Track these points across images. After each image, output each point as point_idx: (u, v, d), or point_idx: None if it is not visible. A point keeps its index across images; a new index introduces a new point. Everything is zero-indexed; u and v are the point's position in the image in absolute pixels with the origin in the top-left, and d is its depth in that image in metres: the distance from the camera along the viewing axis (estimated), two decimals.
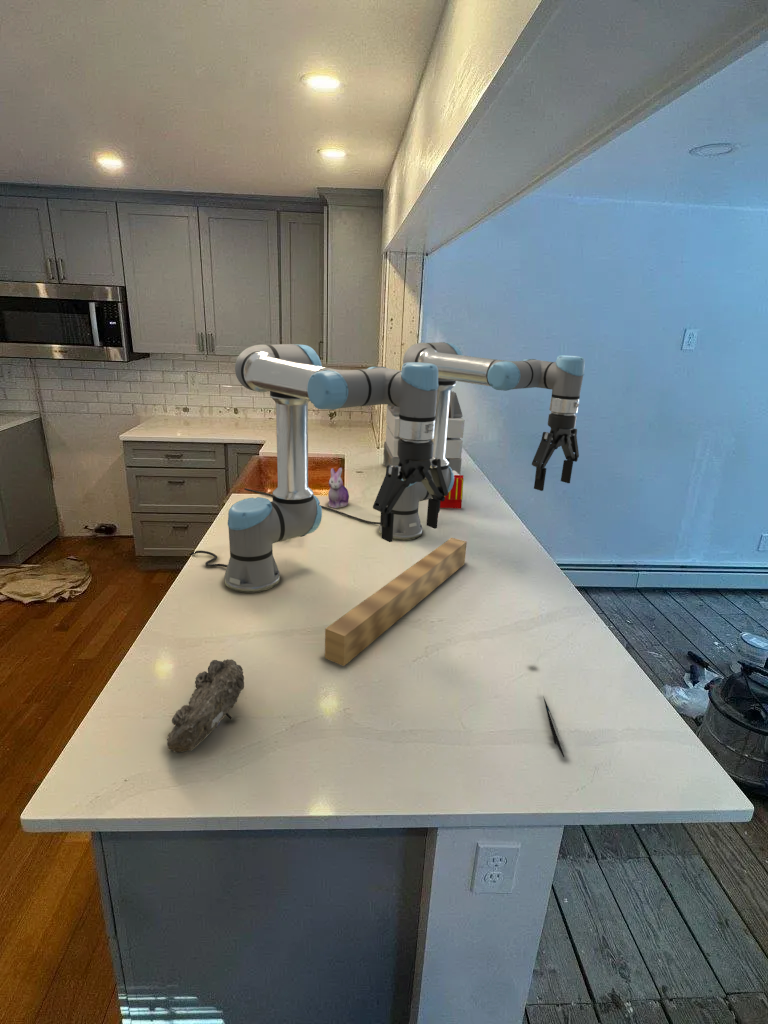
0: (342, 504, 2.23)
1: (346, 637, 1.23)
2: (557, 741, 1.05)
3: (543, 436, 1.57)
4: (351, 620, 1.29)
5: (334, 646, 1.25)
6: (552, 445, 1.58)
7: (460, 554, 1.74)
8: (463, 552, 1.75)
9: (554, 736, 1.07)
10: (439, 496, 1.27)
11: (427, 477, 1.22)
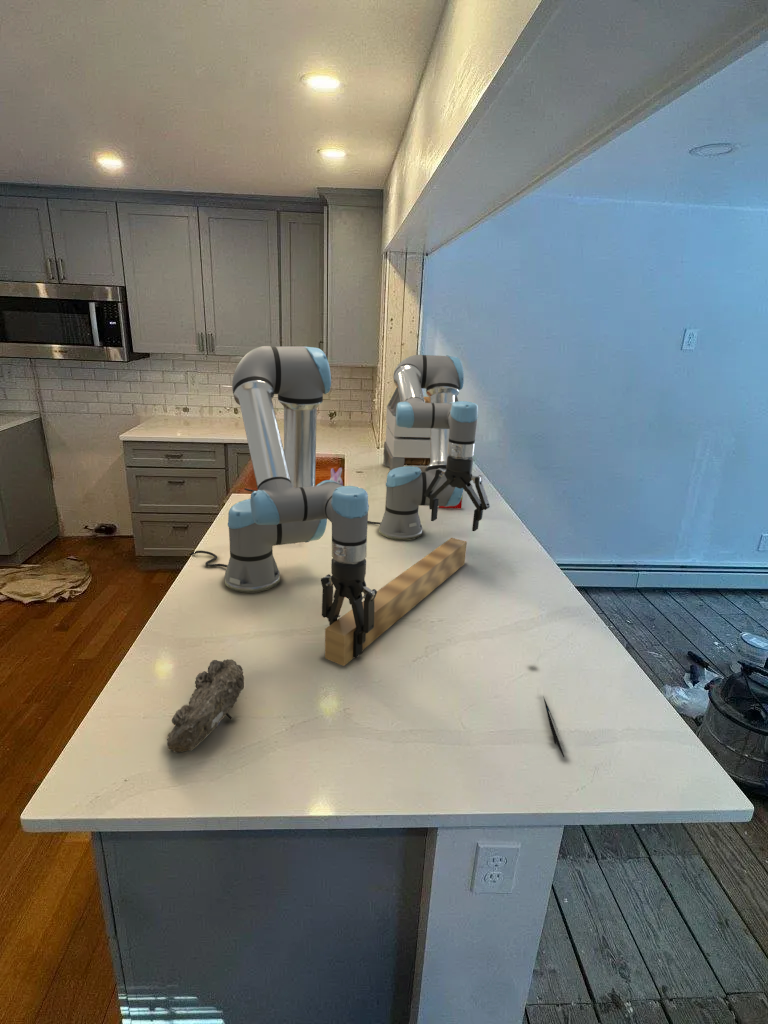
0: None
1: (346, 637, 1.23)
2: (557, 741, 1.05)
3: None
4: (350, 620, 1.29)
5: (334, 645, 1.25)
6: None
7: (460, 554, 1.74)
8: (463, 552, 1.75)
9: (554, 736, 1.07)
10: (358, 628, 1.25)
11: (349, 598, 1.23)
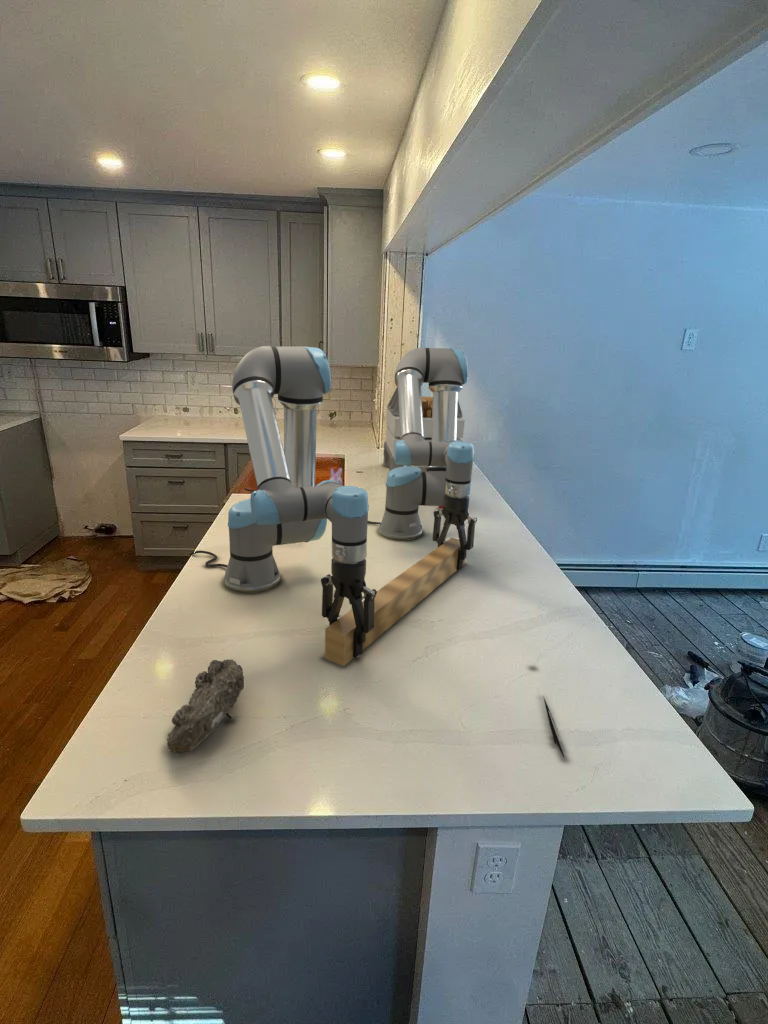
0: None
1: (346, 637, 1.23)
2: (557, 741, 1.05)
3: None
4: (350, 620, 1.29)
5: (334, 645, 1.25)
6: None
7: None
8: None
9: (554, 736, 1.07)
10: (358, 628, 1.25)
11: (349, 598, 1.23)
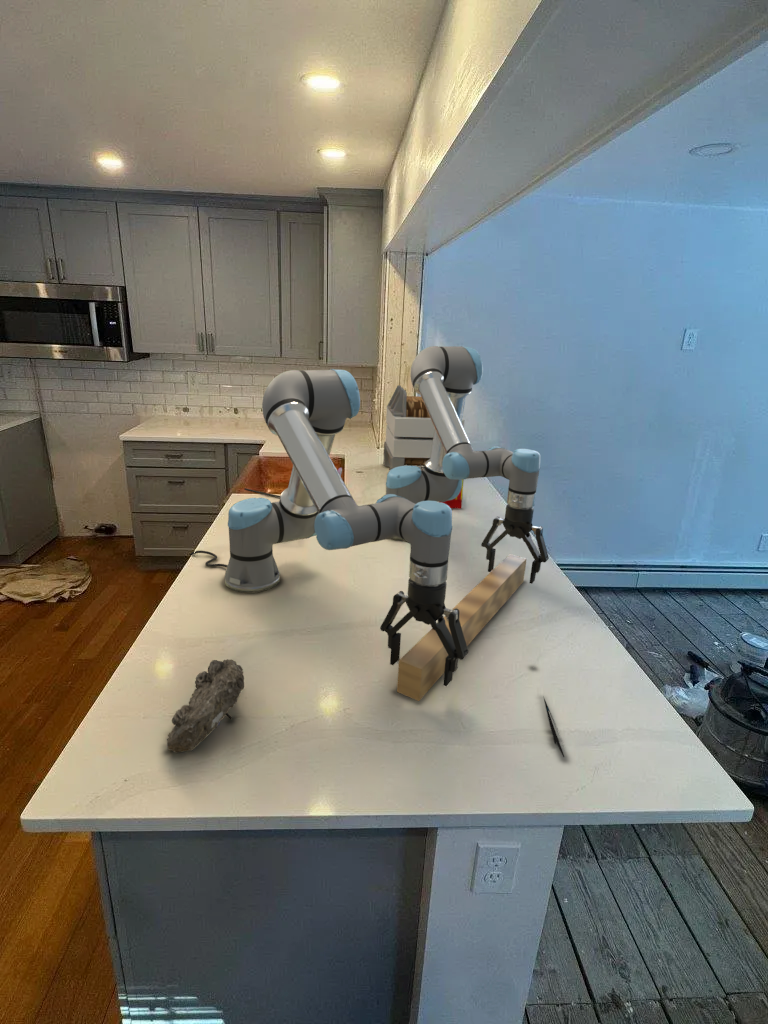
0: None
1: (423, 670, 1.13)
2: (557, 741, 1.05)
3: None
4: (424, 650, 1.18)
5: (409, 679, 1.15)
6: None
7: (521, 572, 1.64)
8: (523, 570, 1.65)
9: (554, 736, 1.07)
10: (450, 654, 1.12)
11: (431, 623, 1.12)
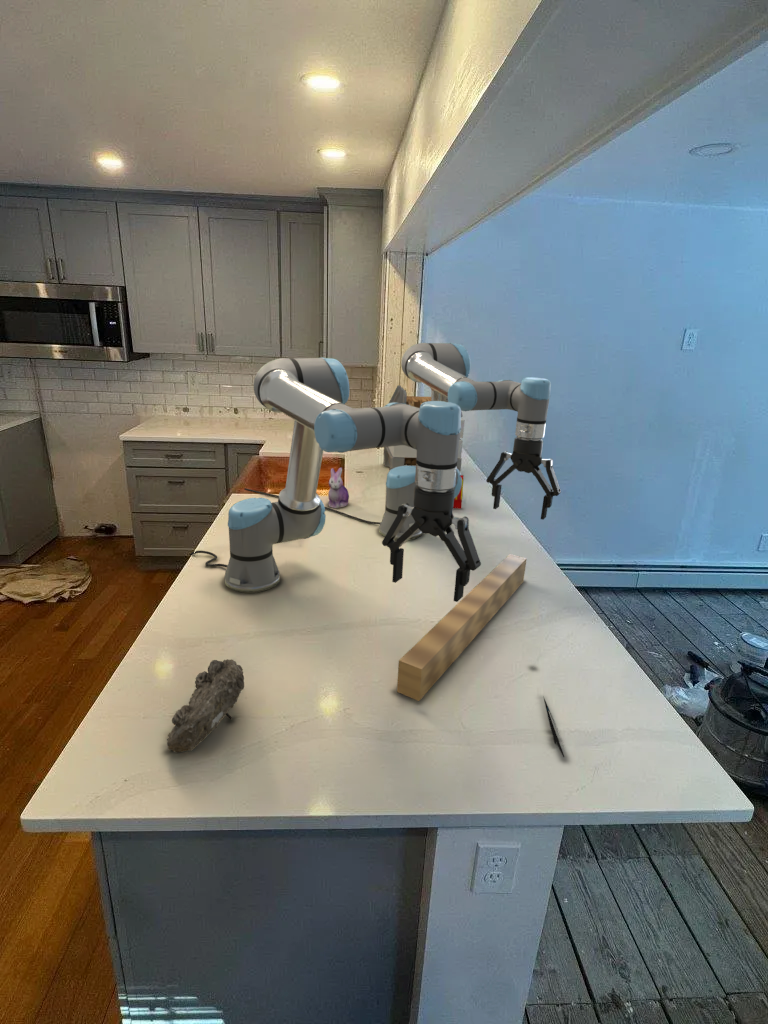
0: (342, 504, 2.23)
1: (423, 670, 1.13)
2: (557, 741, 1.05)
3: None
4: (424, 650, 1.18)
5: (409, 679, 1.15)
6: (510, 467, 1.55)
7: (521, 572, 1.64)
8: (523, 570, 1.65)
9: (554, 736, 1.07)
10: (461, 565, 1.05)
11: (439, 534, 1.05)
